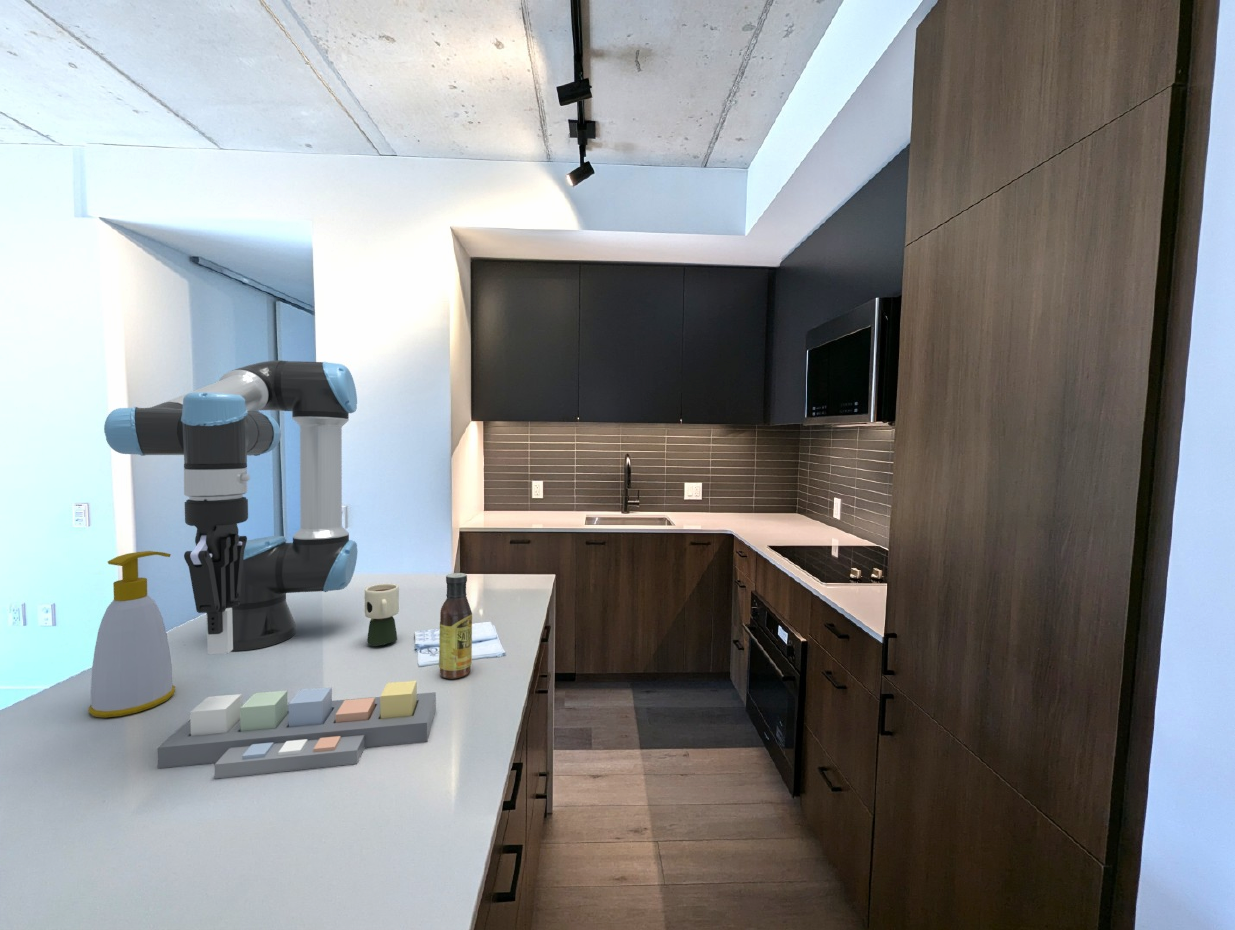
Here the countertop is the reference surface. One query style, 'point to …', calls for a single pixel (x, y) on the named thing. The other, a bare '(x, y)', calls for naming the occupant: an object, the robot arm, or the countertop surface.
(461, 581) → the sauce bottle
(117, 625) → the soap bottle
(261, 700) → the key sage
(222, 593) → the robot arm
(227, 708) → the key white
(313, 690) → the key slate
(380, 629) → the character mug
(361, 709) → the key terracotta
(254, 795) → the countertop surface
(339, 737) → the keypad
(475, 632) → the folded patterned cloth
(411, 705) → the key mustard
